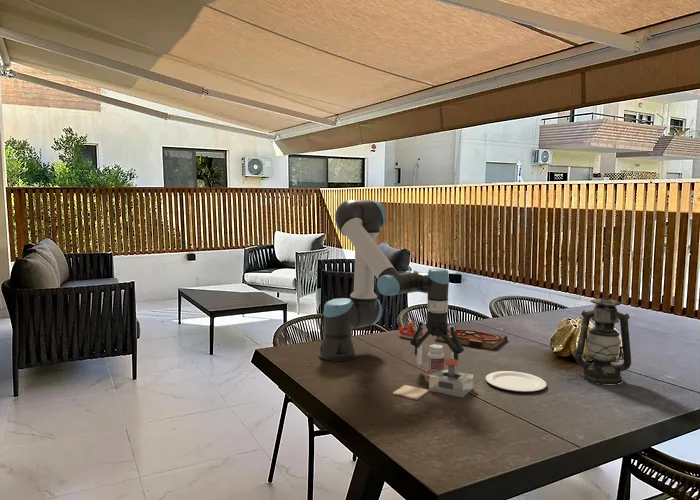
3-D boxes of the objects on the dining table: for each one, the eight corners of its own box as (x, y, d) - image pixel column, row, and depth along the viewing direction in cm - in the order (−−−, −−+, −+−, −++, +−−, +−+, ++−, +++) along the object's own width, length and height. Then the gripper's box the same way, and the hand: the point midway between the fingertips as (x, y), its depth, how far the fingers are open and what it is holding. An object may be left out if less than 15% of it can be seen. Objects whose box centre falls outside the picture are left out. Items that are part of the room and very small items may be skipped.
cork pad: (392, 394, 175) (392, 392, 175) (404, 386, 182) (404, 384, 182) (417, 400, 170) (417, 398, 170) (428, 391, 177) (428, 390, 177)
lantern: (626, 375, 197) (631, 297, 194) (636, 392, 179) (641, 306, 176) (572, 369, 203) (576, 293, 200) (576, 385, 185) (581, 302, 182)
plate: (515, 399, 172) (515, 394, 172) (473, 380, 191) (473, 375, 191) (559, 389, 182) (559, 384, 182) (515, 372, 200) (515, 367, 200)
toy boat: (404, 334, 255) (404, 318, 254) (425, 337, 248) (425, 322, 247) (396, 337, 249) (396, 321, 248) (417, 341, 242) (418, 325, 241)
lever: (442, 378, 179) (443, 361, 178) (447, 375, 183) (448, 357, 182) (455, 381, 177) (455, 363, 176) (459, 377, 180) (460, 360, 180)
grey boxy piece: (428, 390, 179) (429, 376, 178) (440, 381, 187) (440, 368, 187) (462, 397, 172) (462, 383, 172) (472, 388, 181) (473, 374, 180)
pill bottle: (447, 376, 193) (448, 346, 192) (435, 379, 189) (436, 349, 188) (436, 372, 198) (436, 343, 197) (423, 375, 195) (424, 345, 193)
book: (507, 342, 245) (507, 332, 245) (493, 352, 227) (494, 340, 227) (449, 333, 260) (450, 323, 260) (433, 341, 242) (433, 331, 242)
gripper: (402, 308, 195) (401, 363, 197) (466, 317, 182) (464, 376, 184) (411, 305, 201) (409, 358, 203) (473, 313, 188) (471, 370, 190)
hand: (435, 367), depth 193 cm, fingers open, 13 cm apart
